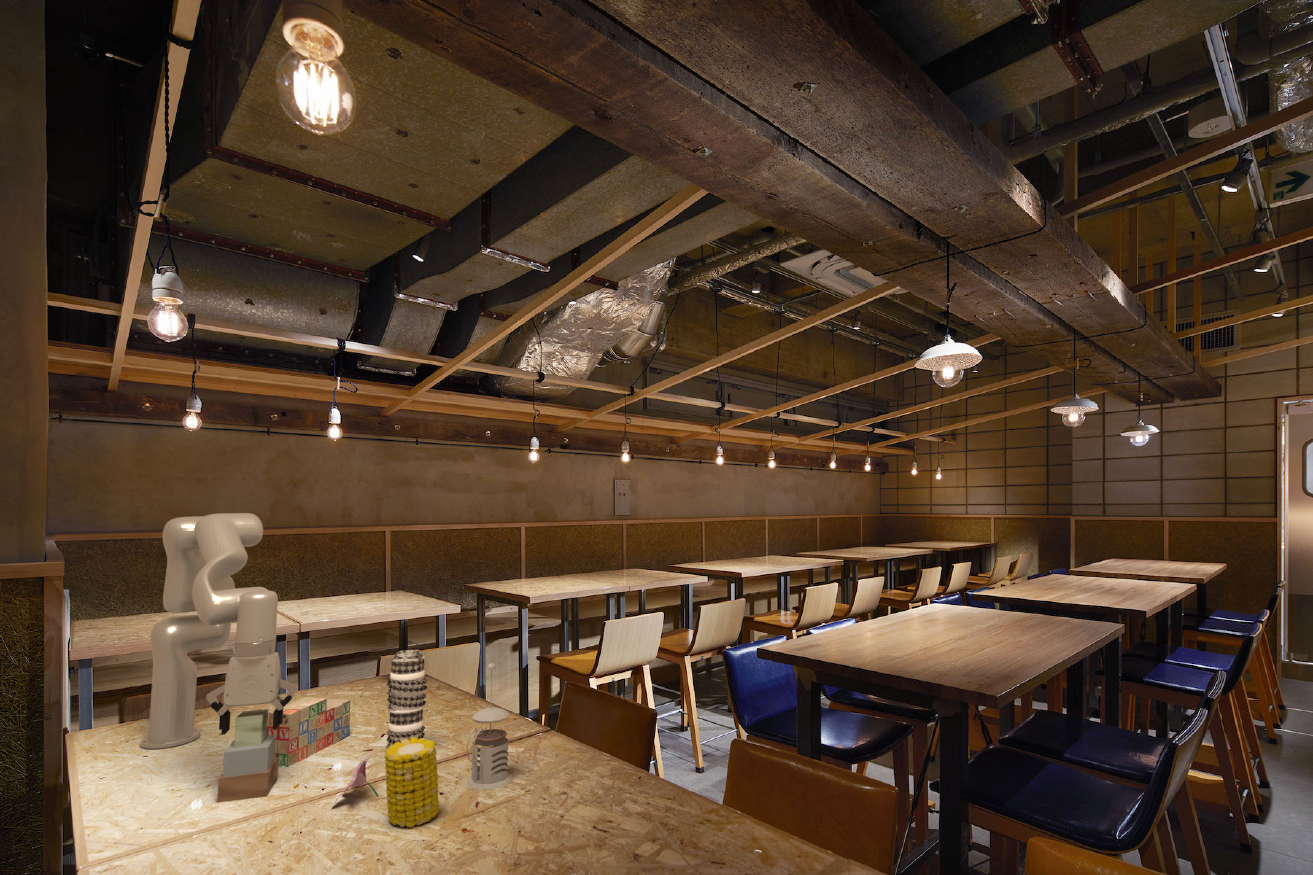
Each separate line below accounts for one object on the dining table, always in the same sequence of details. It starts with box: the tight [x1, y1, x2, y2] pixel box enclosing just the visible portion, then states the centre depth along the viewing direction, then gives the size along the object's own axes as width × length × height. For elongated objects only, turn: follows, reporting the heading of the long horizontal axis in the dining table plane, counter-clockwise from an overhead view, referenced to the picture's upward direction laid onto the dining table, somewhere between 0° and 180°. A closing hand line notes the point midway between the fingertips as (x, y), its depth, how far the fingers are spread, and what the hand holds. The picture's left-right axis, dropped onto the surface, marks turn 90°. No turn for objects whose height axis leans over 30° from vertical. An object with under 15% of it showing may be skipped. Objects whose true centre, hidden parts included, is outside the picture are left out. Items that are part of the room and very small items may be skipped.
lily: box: [331, 747, 379, 809], centre depth 136 cm, size 12×12×10 cm
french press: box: [466, 663, 513, 791], centre depth 144 cm, size 10×12×25 cm
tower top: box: [222, 735, 276, 778], centre depth 140 cm, size 8×8×5 cm
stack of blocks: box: [267, 697, 351, 768], centre depth 164 cm, size 21×6×12 cm, turn 167°
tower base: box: [216, 757, 279, 804], centre depth 140 cm, size 9×9×5 cm
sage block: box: [233, 708, 270, 748], centre depth 141 cm, size 5×5×6 cm
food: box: [384, 737, 440, 829], centre depth 127 cm, size 15×12×10 cm
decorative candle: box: [385, 648, 428, 749], centre depth 158 cm, size 9×9×25 cm
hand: (251, 730), depth 141 cm, fingers open, 9 cm apart
